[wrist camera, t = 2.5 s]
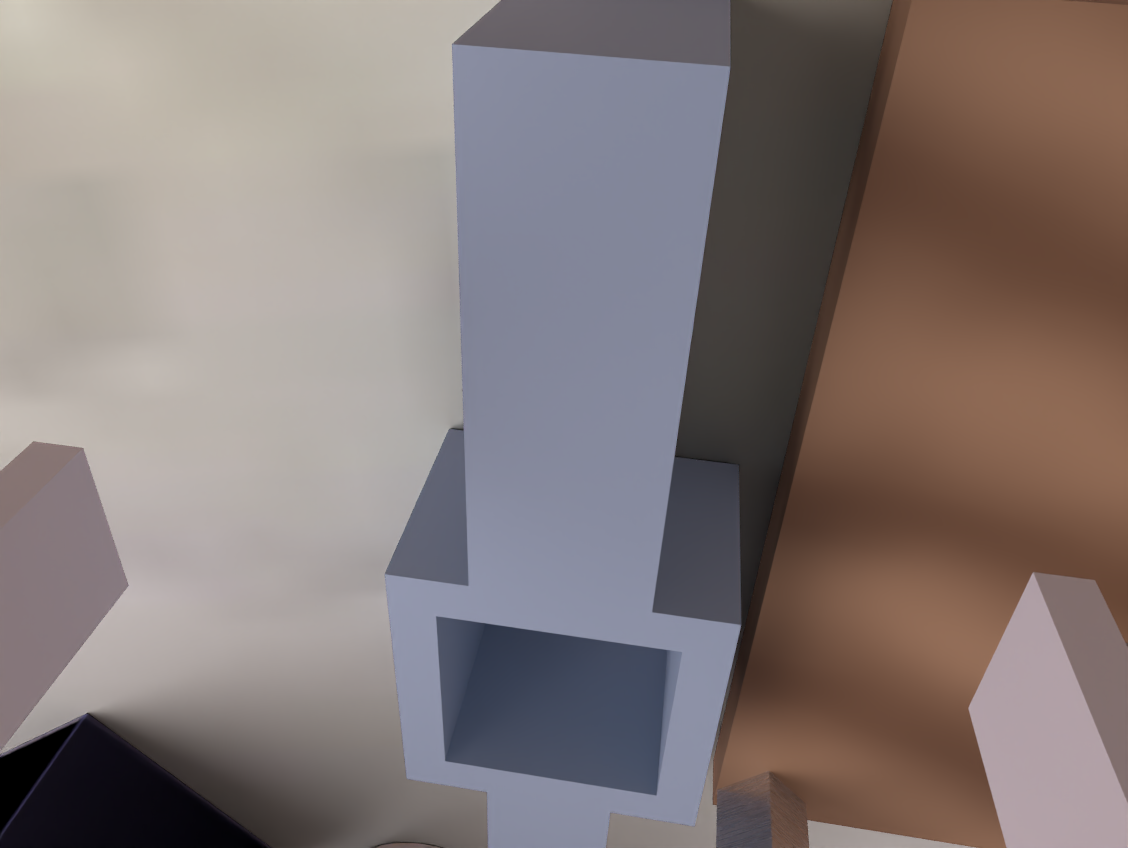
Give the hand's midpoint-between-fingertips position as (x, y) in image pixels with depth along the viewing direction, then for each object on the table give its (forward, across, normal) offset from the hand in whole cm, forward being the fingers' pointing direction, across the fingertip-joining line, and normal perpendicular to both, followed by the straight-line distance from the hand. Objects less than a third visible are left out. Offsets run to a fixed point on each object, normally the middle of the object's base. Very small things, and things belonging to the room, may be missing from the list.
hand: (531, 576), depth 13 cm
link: (+8, 0, -4) cm, 9 cm away
